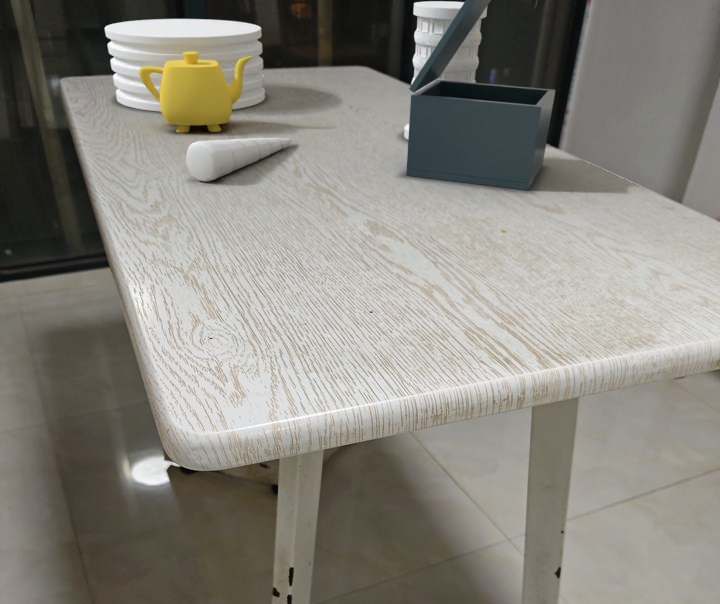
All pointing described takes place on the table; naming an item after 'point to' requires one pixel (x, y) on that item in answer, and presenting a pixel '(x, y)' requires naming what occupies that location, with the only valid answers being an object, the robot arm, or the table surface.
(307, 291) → the table surface
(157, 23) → the plate stack
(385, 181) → the table surface
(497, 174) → the slate grey rectangular box
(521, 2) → the robot arm
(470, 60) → the decorative container
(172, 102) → the teapot
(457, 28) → the lid
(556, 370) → the table surface
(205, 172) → the unicorn horn
